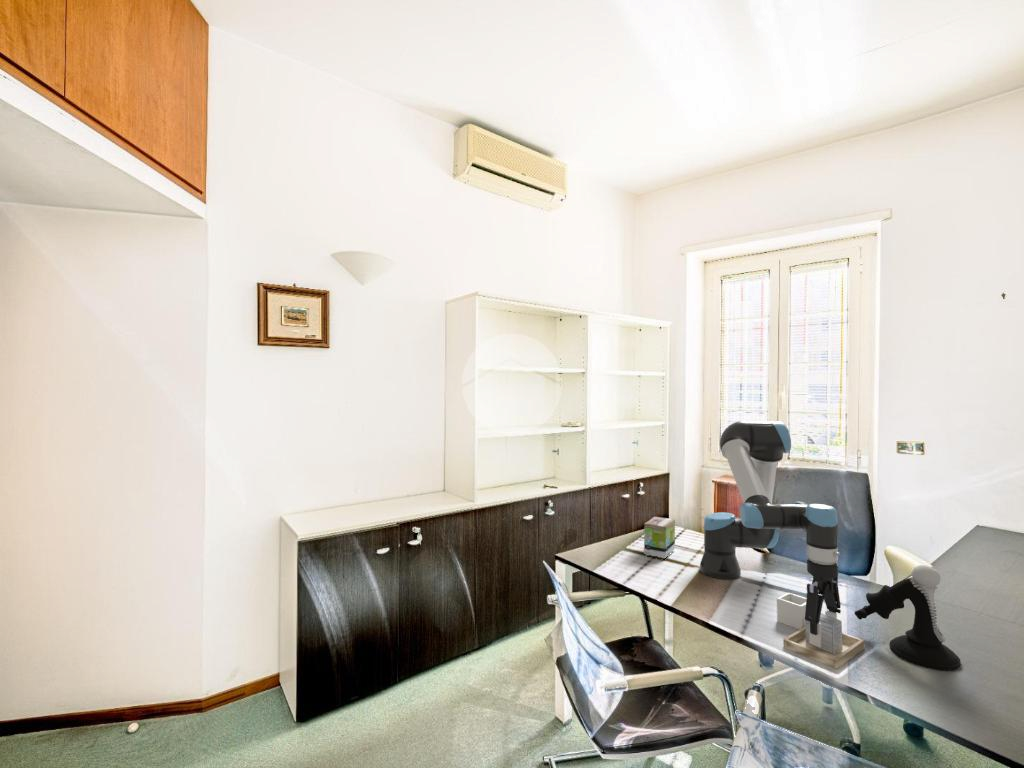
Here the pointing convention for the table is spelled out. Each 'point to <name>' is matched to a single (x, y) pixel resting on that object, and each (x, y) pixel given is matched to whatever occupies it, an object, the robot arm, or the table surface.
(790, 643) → the birch tray
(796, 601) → the pen cup
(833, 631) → the medicine box
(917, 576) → the sculpture
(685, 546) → the table surface
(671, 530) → the tea box
